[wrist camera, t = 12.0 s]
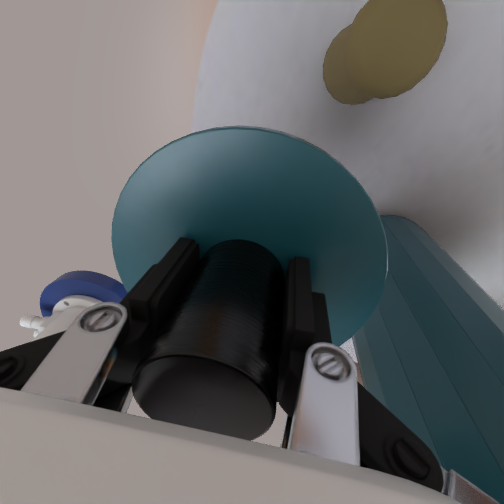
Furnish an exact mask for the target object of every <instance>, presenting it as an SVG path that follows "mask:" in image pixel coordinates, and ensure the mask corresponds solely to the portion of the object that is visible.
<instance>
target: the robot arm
mask: <svg viewBox="0 0 504 504" xmlns="http://www.w3.org/2000/svg"><path fill="white" fill-rule="evenodd" d="M198 264H199V244H198V243H195V240H194V239H189V238H183V237H180V238H179V239H178V240H177V242H176V243H175V244H174V245H173V246H172V247H171V249H170V250H169V251H168V252H167V253H166V254H165V256H164V257H163V258H162V259H161V260H160V262H159V263H158V264H154V265H152V266H151V267H150V268H149V270H148V271H147V272H146V273H145V274H144V275H143V276H142V278H141V279H140V280H139V281H138V282H137V283H136V284H135V286H134V287H133V288H132V289H131V290H130V291H129V292H128V294H127V295H126V296H125V297H124V298H123V299H122V300H121V302H120V303H115V302H102V301H100V300H98V299H95V298H93V297H89V296H85V295H70V296H67V297H65V298H63V299H61V300H60V301H59V302H58V303H57V304H56V305H55V306H54V308H53V312H52V315H51V316H50V317H49V316H45V317H43V318H40V317H38V316H33V315H28V314H27V315H24V316H23V317H22V318H21V320H20V325H21V326H22V327H28V328H32V329H33V328H36V329H37V330H35V332H34V334H33V335H34V337H35V338H33V339H32V340H31V341H30V342H29V343H26V344H23V345H19V346H16V347H13V348H11V349H7V350H4V351H1V352H0V504H500V503H499V502H497V501H496V500H495V499H493V498H492V497H490V496H489V495H488V494H486V493H485V492H483V491H482V490H480V489H479V488H478V487H476V486H475V485H473V484H472V483H471V482H469V481H468V480H466V479H465V478H464V477H462V476H461V475H459V474H458V473H457V472H455V471H454V470H452V469H451V470H450V471H446V470H445V469H443V468H442V467H441V466H440V465H439V462H438V460H437V459H436V457H435V456H434V454H433V452H432V451H431V450H430V449H429V447H428V446H427V445H426V444H425V443H424V442H423V441H422V440H421V439H420V438H419V437H418V436H417V435H415V434H414V433H413V432H412V431H411V430H410V429H409V428H408V427H407V426H406V425H405V424H403V423H402V422H401V421H400V420H399V419H398V418H397V417H396V416H395V415H394V414H393V413H391V412H390V411H389V410H388V409H387V408H386V407H385V406H384V405H383V404H382V403H380V402H379V401H378V400H377V399H376V398H375V397H374V396H373V395H372V394H371V393H370V392H368V391H367V390H366V389H365V388H364V387H363V386H362V385H361V384H360V383H359V382H358V381H357V369H356V365H355V362H354V361H353V359H352V357H351V356H350V355H349V354H348V353H347V352H346V351H345V350H343V349H342V348H340V347H339V346H336V345H334V344H332V338H331V331H330V325H329V318H328V311H327V304H326V297H325V294H323V293H318V292H312V287H311V274H310V262H309V259H308V258H302V257H296V256H295V259H294V260H293V259H289V264H288V268H287V273H286V278H285V283H284V298H283V313H282V328H281V343H280V358H279V373H278V388H277V402H279V405H280V406H281V407H282V408H283V410H284V411H285V412H286V413H287V416H286V421H285V426H284V431H283V436H282V441H281V446H280V447H275V446H271V445H267V444H262V443H258V442H253V441H249V440H244V439H240V438H235V437H231V436H227V435H222V434H218V433H213V432H208V431H204V430H199V429H195V428H190V427H186V426H181V425H177V424H172V423H168V422H163V421H158V420H154V419H149V418H145V417H140V416H136V415H131V414H126V413H127V410H128V408H129V405H130V402H131V399H132V397H133V393H132V388H131V382H132V375H133V373H134V370H135V369H136V367H137V365H138V364H139V362H140V360H141V359H142V357H143V355H144V354H145V352H146V350H147V349H148V347H149V345H150V344H151V342H152V340H153V339H154V337H155V335H156V334H157V332H158V330H159V329H160V327H161V325H162V324H163V322H164V320H165V319H166V317H167V315H168V314H169V312H170V310H171V309H172V307H173V305H174V304H175V302H176V300H177V299H178V297H179V295H180V294H181V292H182V291H183V289H184V287H185V286H186V284H187V282H188V281H189V279H190V277H191V276H192V274H193V272H194V271H195V269H196V267H197V266H198Z"/></svg>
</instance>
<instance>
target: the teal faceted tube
mask: <svg viewBox="0 0 504 504" xmlns="http://www.w3.org/2000/svg"><path fill="white" fill-rule="evenodd" d="M380 219H381V222H382V225H383V228H384V231H385V234H386V240H387V247H388V271H387V277H386V282H385V286H384V289H383V292H382V295H381V298H380V300H379V302H378V304H377V306H376V308H375V310H374V311H373V313H372V315H371V316H370V317H369V319H368V320H367V321H366V323H365V324H364V325H363V326H362V327H361V328H360V329H359V330H358V331H357V332H356V333H355V334H354V335H353V336H352V340H353V344H354V348H355V352H356V356H357V361H358V365H359V369H360V373H361V377H362V381H363V386H364V388H365V389H366V390H367V391H368V392H370V393H371V394H372V395H373V396H374V397H375V398H376V399H377V400H378V401H379V402H380V403H382V404H383V405H384V406H385V407H386V408H387V409H388V410H389V411H390V412H391V413H393V414H394V415H395V416H396V417H397V418H398V419H399V420H400V421H401V422H402V423H403V424H405V425H406V426H407V427H408V428H409V429H410V430H411V431H412V432H413V433H414V434H415V435H417V436H418V437H419V438H420V439H421V440H422V441H423V442H424V443H425V444H426V445H427V446H428V447H429V449H430V450H431V451H432V452H433V454H434V456H435V457H436V459H437V460H438V462H439V465H440V466H441V467H442V468H443V469H445V470H446V471H450V470H451V469H452V470H454V471H455V472H457V473H458V474H459V475H461V476H462V477H464V478H465V479H466V480H468V481H469V482H471V483H472V484H473V485H475V486H476V487H478V488H479V489H480V490H482V491H483V492H485V493H486V494H488V495H489V496H490V497H492V498H493V499H495V500H496V501H497V502H499V503H500V504H504V310H503V309H502V308H501V307H500V306H499V305H498V304H497V303H496V302H495V301H494V300H493V299H492V298H491V297H490V296H489V295H488V294H487V293H486V292H485V291H484V290H483V289H482V288H481V287H480V286H479V285H478V284H477V283H476V282H475V281H474V280H473V279H472V278H471V277H470V276H469V275H468V274H467V273H466V272H465V271H464V270H463V269H462V268H461V267H460V266H459V265H458V264H457V263H456V262H455V261H454V260H453V259H452V258H451V257H450V256H449V255H448V254H447V253H446V252H445V251H444V250H443V249H442V248H441V247H440V246H439V245H438V244H437V243H436V242H435V241H434V240H433V239H432V238H431V237H430V236H429V235H428V234H427V233H426V232H425V231H424V230H423V229H422V228H420V227H419V226H418V225H417V224H416V223H414V222H412V221H411V220H409V219H406V218H403V217H398V216H380Z"/></svg>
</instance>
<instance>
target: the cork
mask: <svg viewBox="0 0 504 504" xmlns="http://www.w3.org/2000/svg"><path fill="white" fill-rule="evenodd" d="M447 25H448V22H447V16H446V10H445V6H444V4H443V2H442V0H369V1H368V2H367V3H366V4H365V6H364V7H363V8H362V9H361V10H360V11H359V13H358V14H357V16H356V18H355V20H354V21H353V23H352V24H351V25H349V26H348V27H346V28H345V29H343V30H342V31H341V32H340V33H339V34H338V35H337V36H336V37H335V38H334V39H333V41H332V43H331V45H330V46H329V48H328V50H327V52H326V56H325V60H324V64H323V79H324V82H325V85H326V88H327V90H328V91H329V93H330V94H331V95H332V96H333V98H335V99H336V100H338V101H340V102H341V103H345V104H350V105H355V104H360V103H364V102H366V101H368V100H370V99H372V98H379V99H383V98H389V97H394V96H398V95H400V94H402V93H404V92H406V91H408V90H410V89H412V88H413V87H414V86H415V85H416V84H417V83H418V82H420V81H421V80H422V79H423V78H424V77H425V76H426V75H427V74H428V73H429V71H430V70H431V68H432V67H433V66H434V64H435V63H436V61H437V60H438V58H439V56H440V53H441V51H442V48H443V46H444V43H445V39H446V32H447Z"/></svg>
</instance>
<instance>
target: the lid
mask: <svg viewBox="0 0 504 504" xmlns="http://www.w3.org/2000/svg"><path fill="white" fill-rule="evenodd" d="M180 237H183V238H189V239H194V240H195V243H198V244H199V264H198V266H197V267H196V269H195V271H194V272H193V274H192V276H191V277H190V279H189V281H188V282H187V284H186V286H185V287H184V289H183V291H182V292H181V294H180V295H179V297H178V299H177V300H176V302H175V304H174V305H173V307H172V309H171V310H170V312H169V314H168V315H167V317H166V319H165V320H164V322H163V324H162V325H161V327H160V329H159V330H158V332H157V334H156V335H155V337H154V339H153V340H152V342H151V344H150V345H149V347H148V349H147V350H146V352H145V354H144V355H143V357H142V359H141V360H140V362H139V364H138V365H137V367H136V369H135V370H134V373H133V375H132V382H131V388H132V393H133V396H134V398H135V400H136V402H137V403H138V405H139V406H140V408H141V409H142V410H143V411H144V412H145V413H146V414H147V415H148V416H149V417H150V418H151V419H154V420H158V421H163V422H168V423H172V424H177V425H181V426H186V427H190V428H195V429H199V430H204V431H208V432H213V433H218V434H222V435H227V436H231V437H235V438H240V439H244V440H249V441H251V440H254V439H256V438H258V437H260V436H262V435H263V434H264V433H265V432H267V431H268V430H269V428H270V427H271V425H272V423H273V421H274V419H275V414H276V402H277V388H278V373H279V358H280V343H281V328H282V313H283V298H284V283H285V278H286V273H287V268H288V264H289V259H293V260H294V259H295V256H296V257H302V258H308V259H309V262H310V274H311V287H312V292H318V293H323V294H325V297H326V304H327V311H328V318H329V325H330V331H331V338H332V344H334V345H336V346H340V345H342V344H343V343H344V342H346V341H347V340H348V339H350V338H351V337H352V336H353V335H354V334H355V333H356V332H357V331H358V330H359V329H360V328H361V327H362V326H363V325H364V324H365V323H366V321H367V320H368V319H369V317H370V316H371V315H372V313H373V311H374V310H375V308H376V306H377V304H378V302H379V300H380V298H381V295H382V292H383V289H384V286H385V282H386V277H387V271H388V247H387V240H386V234H385V231H384V228H383V225H382V222H381V219H380V216H379V214H378V212H377V210H376V208H375V206H374V204H373V202H372V200H371V198H370V197H369V196H368V194H367V193H366V192H365V190H364V189H363V187H362V186H361V185H360V183H359V182H358V181H357V179H356V178H355V177H354V176H353V175H352V174H351V173H350V172H349V171H348V170H347V169H346V168H345V167H344V166H343V165H342V164H341V163H340V162H338V161H337V160H336V159H334V158H333V157H332V156H330V155H329V154H328V153H326V152H325V151H324V150H322V149H320V148H318V147H316V146H315V145H313V144H311V143H309V142H307V141H305V140H303V139H301V138H298V137H295V136H293V135H290V134H287V133H284V132H281V131H277V130H272V129H267V128H262V127H252V126H227V127H215V128H211V129H207V130H203V131H199V132H195V133H192V134H189V135H187V136H184V137H182V138H179V139H177V140H174V141H172V142H170V143H169V144H167V145H165V146H164V147H162V148H161V149H159V150H157V151H156V152H154V153H153V154H152V155H151V156H150V157H148V158H147V159H146V160H145V161H144V162H143V163H142V164H140V166H139V167H138V168H137V169H136V171H135V172H134V173H133V174H132V175H131V177H130V178H129V180H128V181H127V183H126V185H125V187H124V188H123V190H122V192H121V194H120V197H119V199H118V202H117V205H116V208H115V212H114V217H113V222H112V248H113V255H114V259H115V263H116V268H117V270H118V273H119V276H120V278H121V281H122V283H123V285H124V287H125V289H126V290H127V292H129V291H130V290H131V289H132V288H133V287H134V286H135V284H136V283H137V282H138V281H139V280H140V279H141V278H142V276H143V275H144V274H145V273H146V272H147V271H148V270H149V268H150V267H151V266H152V265H154V264H158V263H159V262H160V260H161V259H162V258H163V257H164V256H165V254H166V253H167V252H168V251H169V250H170V249H171V247H172V246H173V245H174V244H175V243H176V242H177V240H178V239H179V238H180Z"/></svg>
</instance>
